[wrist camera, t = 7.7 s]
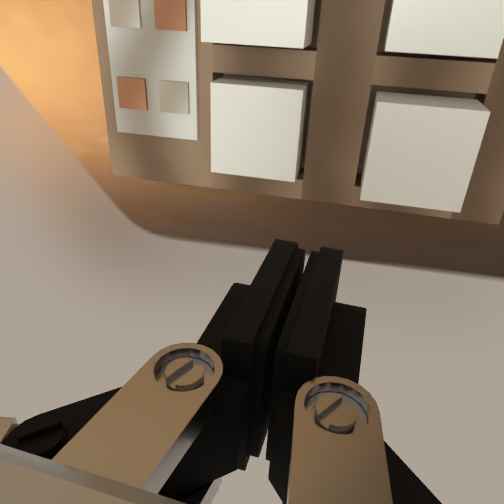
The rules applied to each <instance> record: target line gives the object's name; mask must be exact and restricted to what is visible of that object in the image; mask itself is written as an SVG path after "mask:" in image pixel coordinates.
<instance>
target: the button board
mask: <svg viewBox="0 0 504 504" xmlns="http://www.w3.org/2000/svg"><path fill="white" fill-rule="evenodd" d="M390 5H391V0H316V1H315V11H314V22H313V32H312V42H311V44H310V45H309V46H307V47H305V48H304V49H301V48H287V47H272V46H257V45H242V44H227V43H212V42H201V10H200V0H92V6H93V15H94V23H95V31H96V39H97V48H98V56H99V64H100V72H101V81H102V89H103V97H104V105H105V113H106V122H107V130H108V138H109V146H110V155H111V163H112V171H113V175H116V176H124V177H132V178H139V179H147V180H155V181H163V182H170V183H178V184H186V185H193V186H201V187H209V188H217V189H224V190H232V191H240V192H248V193H255V194H263V195H271V196H279V197H286V198H294V199H302V200H309V201H317V202H325V203H333V204H340V205H348V206H356V207H364V208H371V209H379V210H387V211H395V212H402V213H410V214H418V215H425V216H433V217H441V218H449V219H456V220H464V221H472V222H480V223H487V224H495V225H499V223H500V220H501V217H502V214H503V212H504V38H503V42H502V45H501V49H500V52H499V55H498V59H495V58H480V57H465V56H450V55H434V54H419V53H404V52H389V51H385V50H384V40H385V34H386V28H387V22H388V17H389V11H390ZM225 75H235V76H248V77H260V78H273V79H285V80H298V81H310V90H309V100H308V110H307V120H306V130H305V140H304V150H303V160H302V167H301V169H300V171H299V173H298V176H297V178H296V180H295V182H288V181H280V180H272V179H264V178H256V177H248V176H240V175H231V174H223V173H215V172H211V95H210V82H212V81H215V80H217V79H219V78H221V77H223V76H225ZM377 91H381V92H393V93H406V94H418V95H430V96H442V97H454V98H467V99H477V100H478V101H479V102H481V103H482V104H483V105H484V106H485V107H486V108H487V109H488V110H489V111H490V116H489V119H488V122H487V126H486V129H485V132H484V135H483V139H482V142H481V145H480V149H479V152H478V155H477V159H476V162H475V165H474V168H473V172H472V175H471V178H470V182H469V185H468V188H467V192H466V195H465V198H464V201H463V205H462V208H461V211H460V213H459V212H451V211H443V210H435V209H427V208H419V207H411V206H403V205H395V204H387V203H379V202H372V201H364V200H360V191H361V178H362V173H363V167H364V161H365V155H366V150H367V144H368V138H369V132H370V126H371V121H372V115H373V109H374V103H375V98H376V92H377Z"/></svg>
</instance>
